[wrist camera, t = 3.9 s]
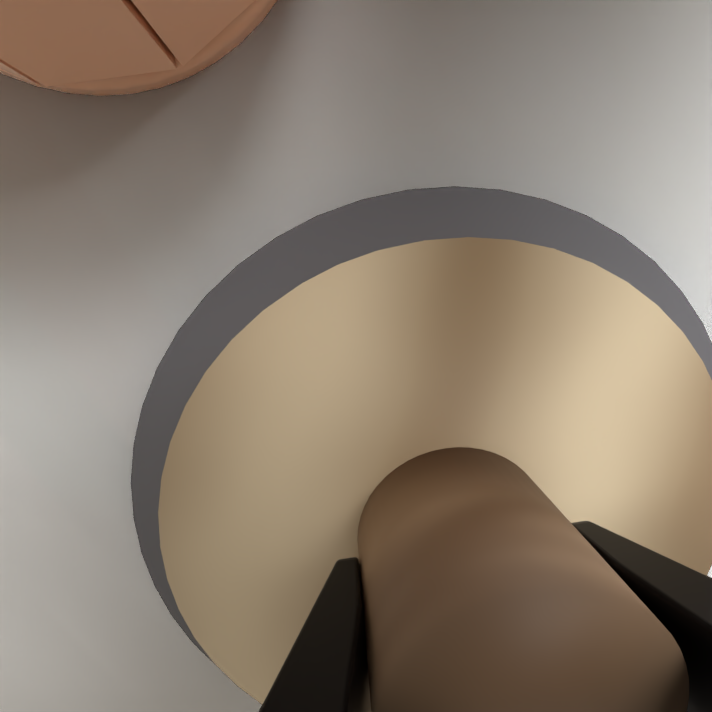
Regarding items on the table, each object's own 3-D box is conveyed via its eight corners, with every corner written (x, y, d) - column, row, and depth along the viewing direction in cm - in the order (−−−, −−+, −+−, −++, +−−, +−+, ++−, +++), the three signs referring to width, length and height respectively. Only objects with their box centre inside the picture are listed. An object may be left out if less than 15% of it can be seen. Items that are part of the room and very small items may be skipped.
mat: (730, 148, 8) (759, 140, 8) (691, 666, 12) (710, 688, 11) (65, 242, 8) (45, 240, 8) (215, 745, 11) (209, 770, 11)
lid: (706, 200, 8) (1148, 128, 4) (677, 665, 11) (908, 938, 6) (112, 285, 8) (-168, 315, 3) (238, 738, 11) (171, 1069, 6)
